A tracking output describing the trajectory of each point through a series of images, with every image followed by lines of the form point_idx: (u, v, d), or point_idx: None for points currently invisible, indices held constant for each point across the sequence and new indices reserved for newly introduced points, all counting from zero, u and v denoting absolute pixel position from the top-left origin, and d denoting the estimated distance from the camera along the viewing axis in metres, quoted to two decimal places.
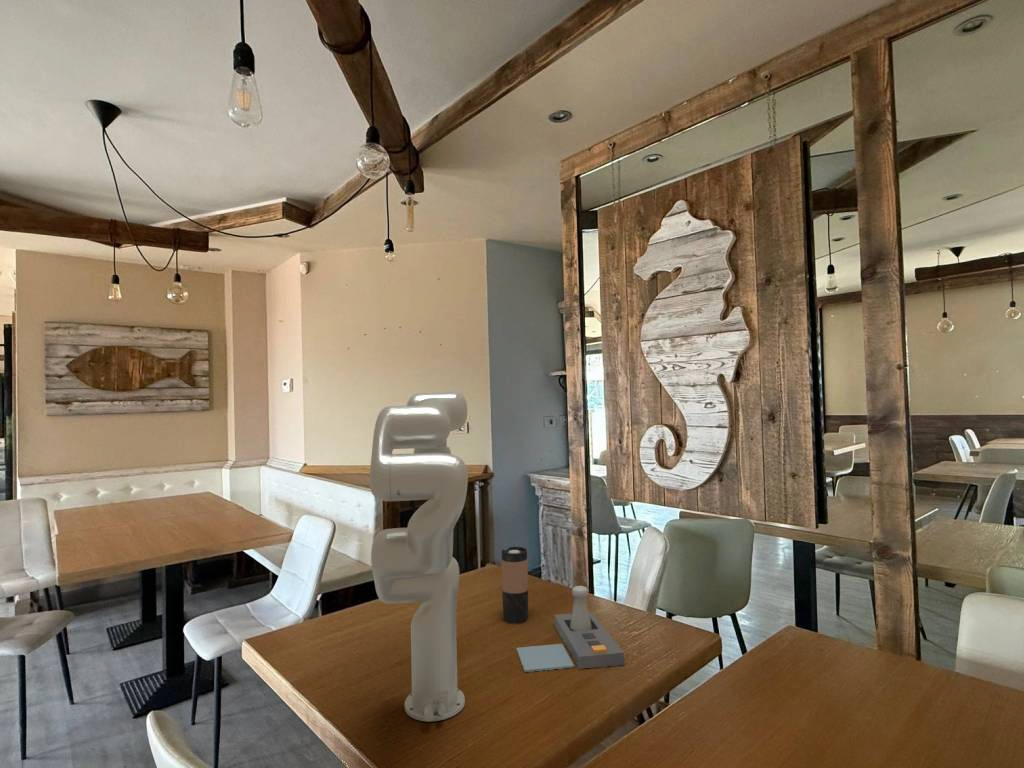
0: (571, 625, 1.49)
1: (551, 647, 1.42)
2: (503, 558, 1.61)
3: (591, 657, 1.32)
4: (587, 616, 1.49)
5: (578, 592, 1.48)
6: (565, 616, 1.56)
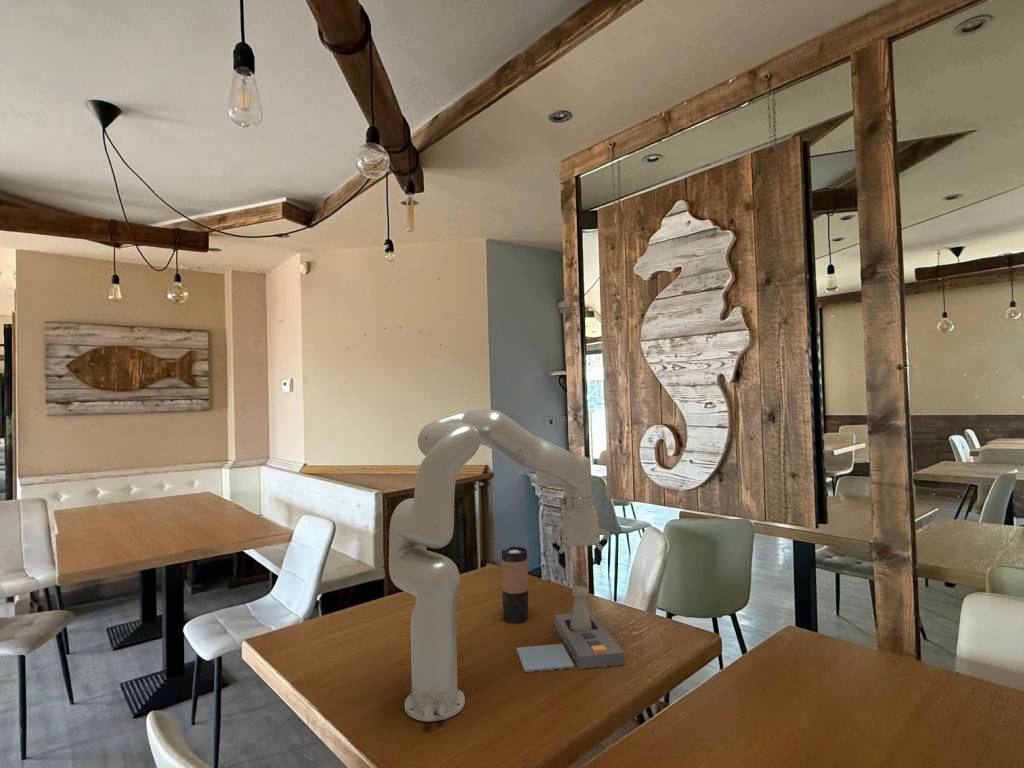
0: (571, 625, 1.49)
1: (551, 647, 1.42)
2: (503, 558, 1.61)
3: (591, 657, 1.32)
4: (587, 616, 1.49)
5: (578, 592, 1.48)
6: (565, 616, 1.56)
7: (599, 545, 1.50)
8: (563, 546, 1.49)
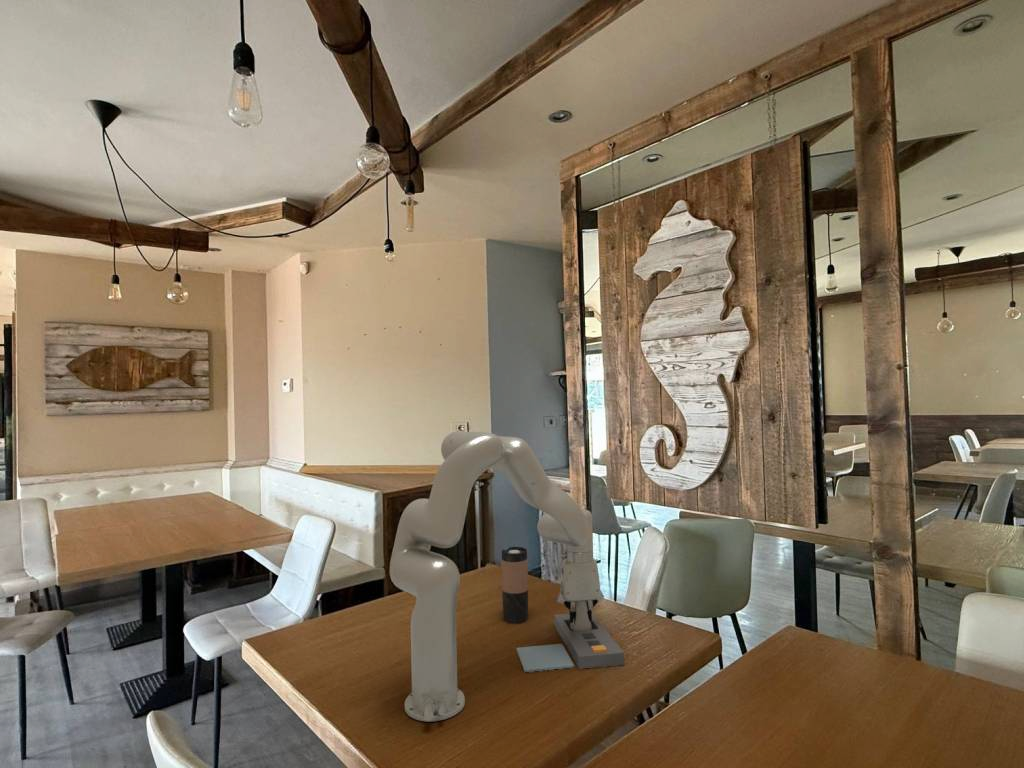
0: (571, 625, 1.49)
1: (551, 647, 1.42)
2: (503, 558, 1.61)
3: (591, 657, 1.32)
4: (587, 616, 1.49)
5: None
6: (565, 616, 1.56)
7: (591, 605, 1.49)
8: (572, 604, 1.48)
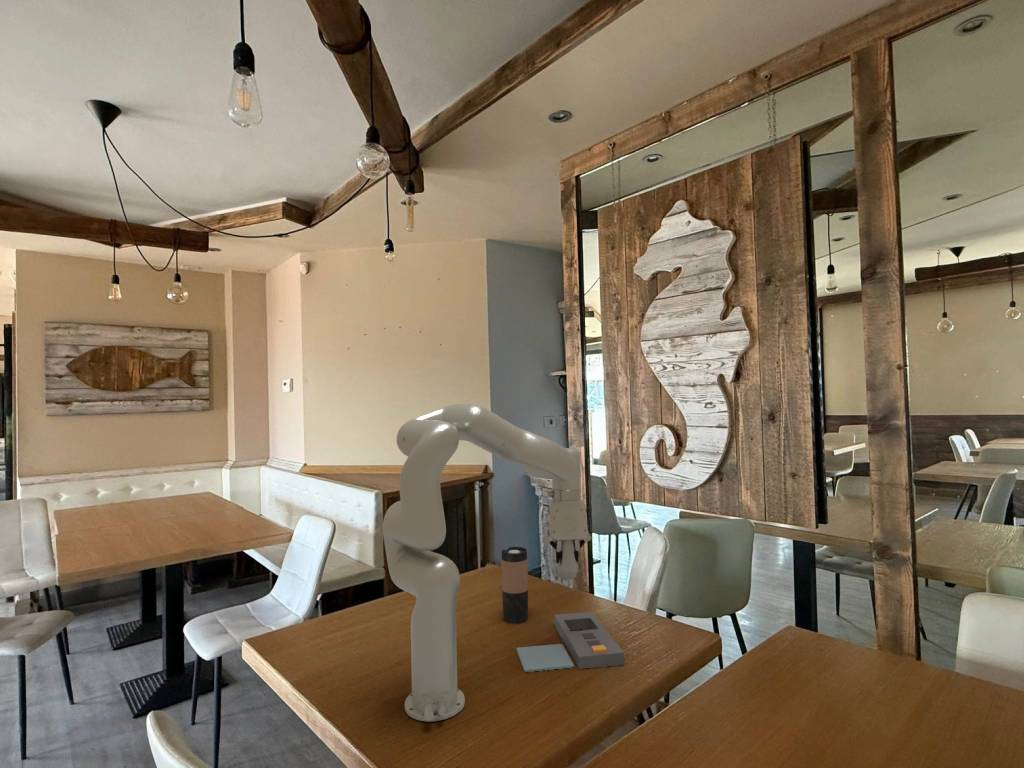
0: (557, 566, 1.45)
1: (551, 647, 1.42)
2: (503, 558, 1.61)
3: (591, 657, 1.32)
4: (574, 556, 1.45)
5: None
6: (565, 616, 1.56)
7: (578, 545, 1.45)
8: (558, 544, 1.45)
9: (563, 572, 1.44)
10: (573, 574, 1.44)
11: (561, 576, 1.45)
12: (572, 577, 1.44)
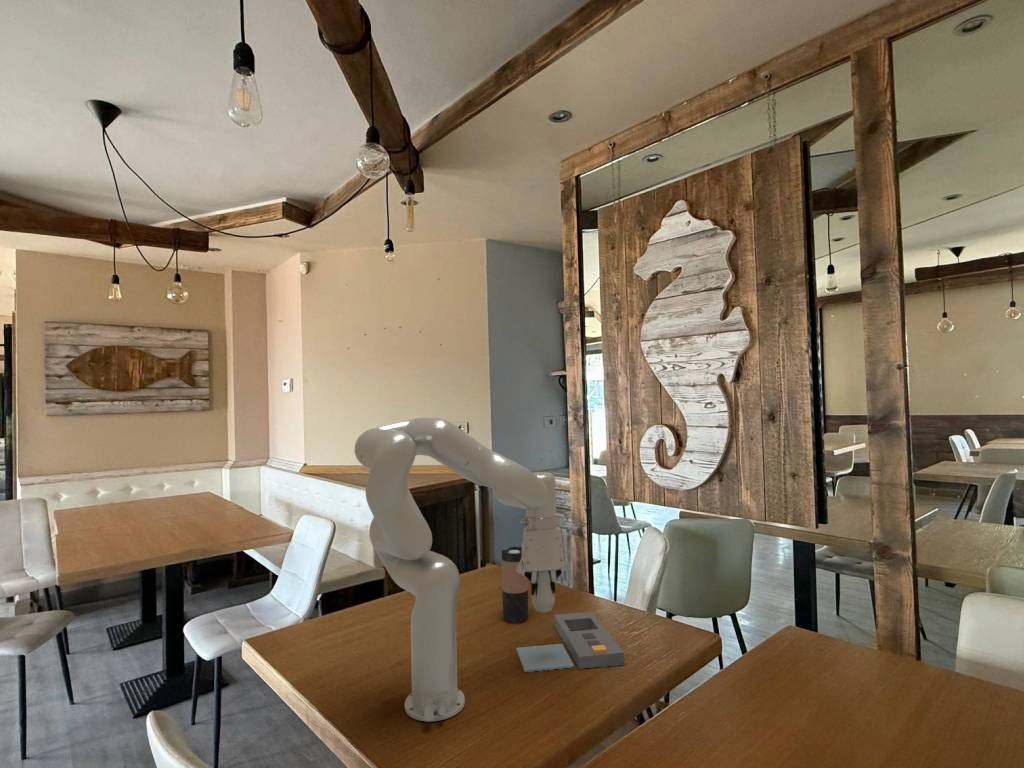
0: (532, 598, 1.37)
1: (551, 647, 1.42)
2: (503, 558, 1.61)
3: (591, 657, 1.32)
4: (550, 587, 1.36)
5: None
6: (565, 616, 1.56)
7: (554, 576, 1.37)
8: (533, 575, 1.36)
9: (539, 604, 1.35)
10: (550, 607, 1.36)
11: (537, 609, 1.36)
12: (548, 610, 1.36)
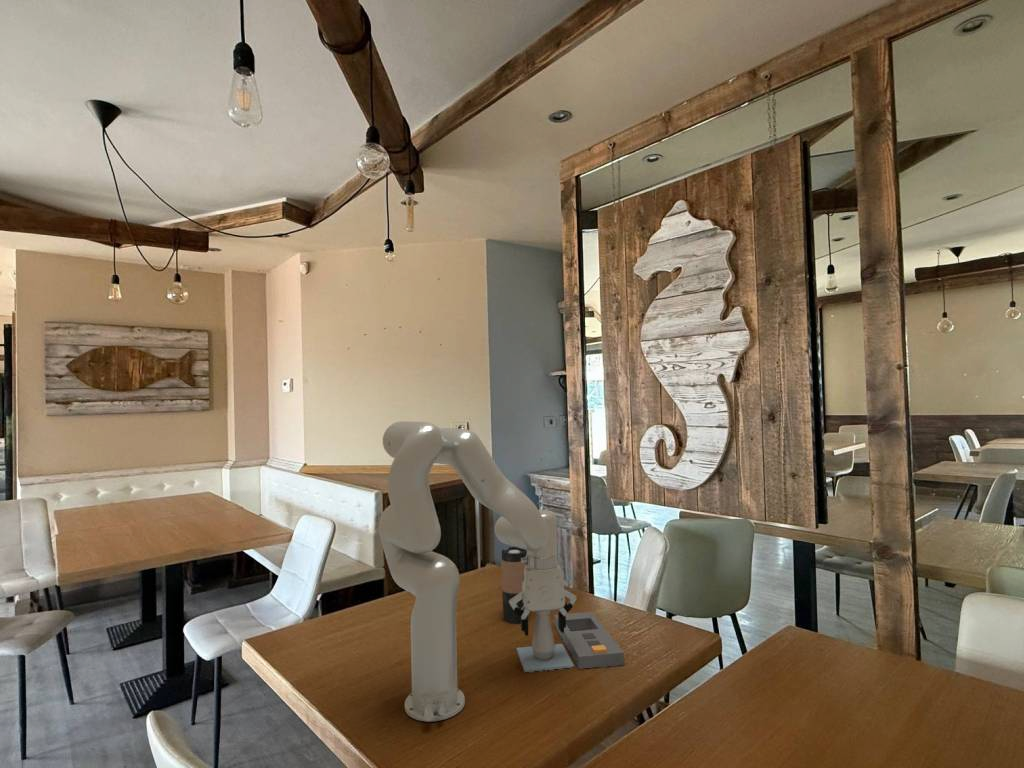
0: (533, 645, 1.36)
1: None
2: (503, 558, 1.61)
3: (591, 657, 1.32)
4: (550, 635, 1.36)
5: None
6: None
7: (563, 610, 1.37)
8: (525, 611, 1.35)
9: (539, 652, 1.35)
10: (550, 654, 1.35)
11: (537, 656, 1.36)
12: (548, 657, 1.35)
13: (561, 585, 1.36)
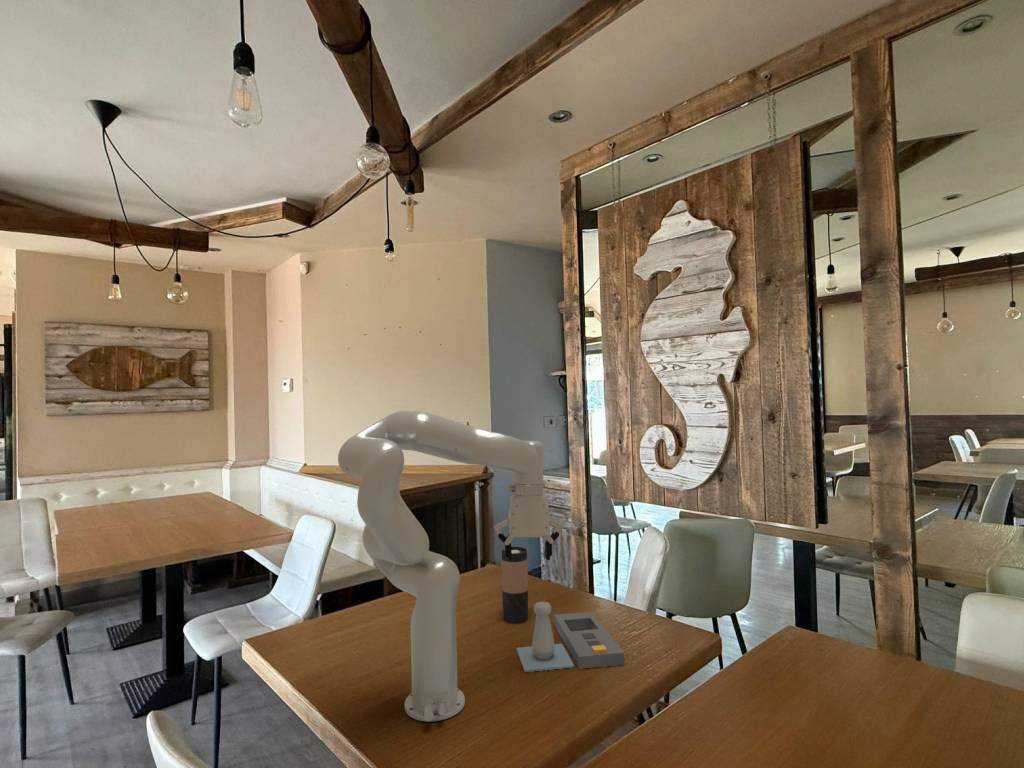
0: (532, 645, 1.36)
1: None
2: (503, 558, 1.61)
3: (591, 657, 1.32)
4: (550, 635, 1.36)
5: (540, 608, 1.36)
6: (565, 616, 1.56)
7: (549, 538, 1.38)
8: (509, 537, 1.37)
9: (539, 652, 1.35)
10: (550, 655, 1.35)
11: (537, 656, 1.36)
12: (548, 657, 1.35)
13: (546, 513, 1.37)
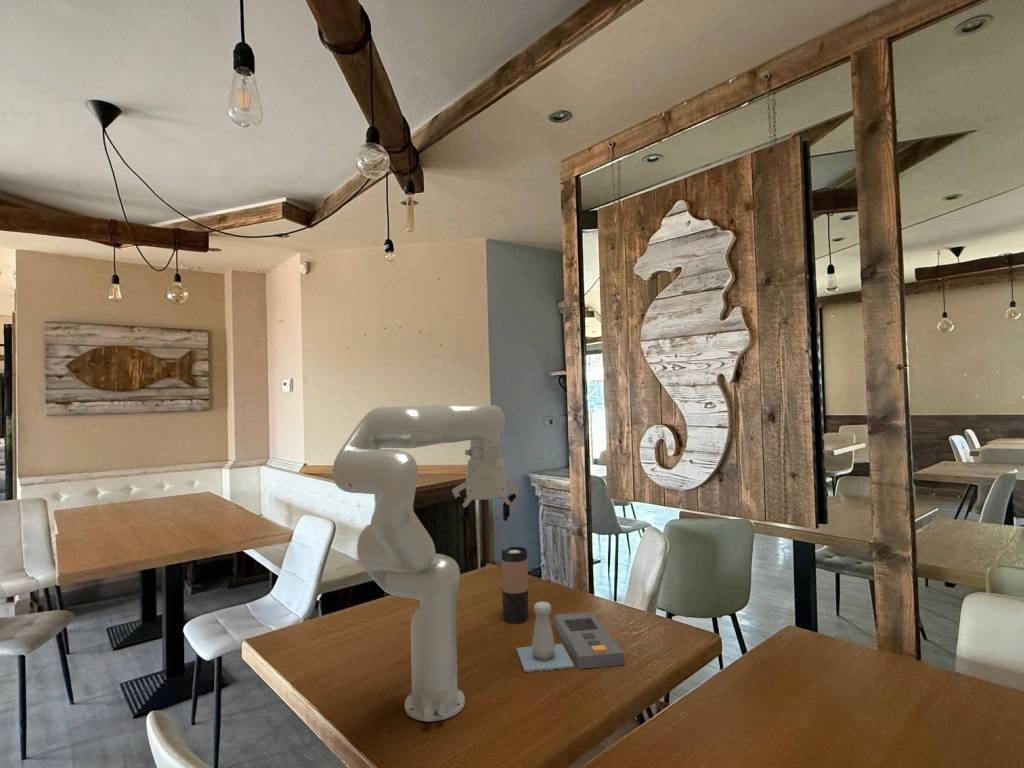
0: (532, 645, 1.36)
1: None
2: (503, 558, 1.61)
3: (591, 657, 1.32)
4: (550, 635, 1.36)
5: (540, 608, 1.36)
6: (565, 616, 1.56)
7: (506, 499, 1.42)
8: (467, 499, 1.40)
9: (539, 652, 1.35)
10: (550, 655, 1.35)
11: (537, 656, 1.36)
12: (548, 657, 1.35)
13: (503, 475, 1.40)
